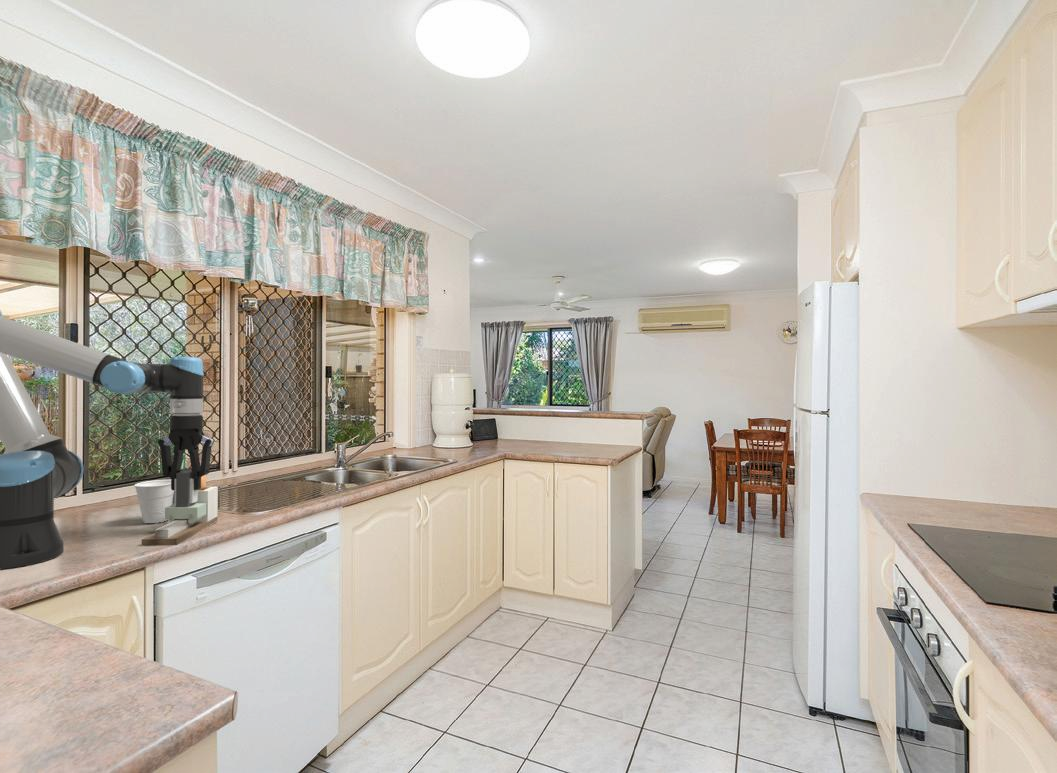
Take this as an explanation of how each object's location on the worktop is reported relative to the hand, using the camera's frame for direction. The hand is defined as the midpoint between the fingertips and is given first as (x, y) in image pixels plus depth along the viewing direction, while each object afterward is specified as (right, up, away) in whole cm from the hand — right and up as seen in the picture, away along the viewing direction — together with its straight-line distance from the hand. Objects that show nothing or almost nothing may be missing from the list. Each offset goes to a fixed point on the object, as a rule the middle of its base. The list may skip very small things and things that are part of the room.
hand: (186, 502), depth 143 cm
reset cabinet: (-1, -6, +6) cm, 9 cm away
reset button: (-1, +1, +6) cm, 6 cm away
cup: (-14, -8, +9) cm, 19 cm away
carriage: (0, -5, 0) cm, 5 cm away
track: (0, -8, -2) cm, 8 cm away
